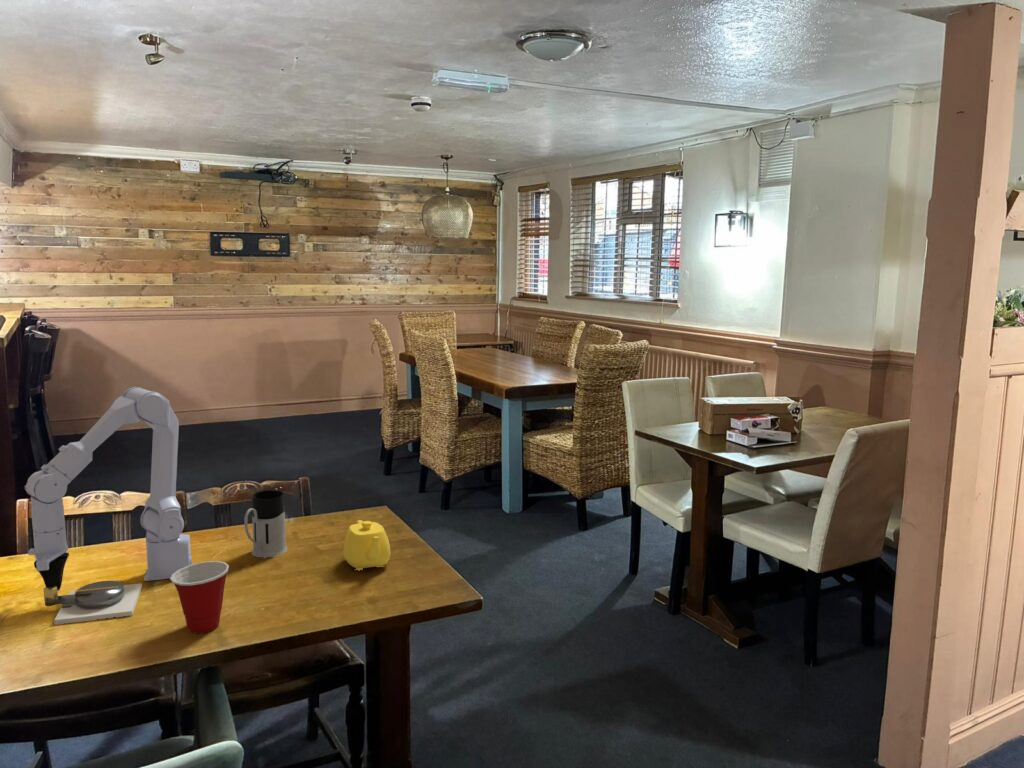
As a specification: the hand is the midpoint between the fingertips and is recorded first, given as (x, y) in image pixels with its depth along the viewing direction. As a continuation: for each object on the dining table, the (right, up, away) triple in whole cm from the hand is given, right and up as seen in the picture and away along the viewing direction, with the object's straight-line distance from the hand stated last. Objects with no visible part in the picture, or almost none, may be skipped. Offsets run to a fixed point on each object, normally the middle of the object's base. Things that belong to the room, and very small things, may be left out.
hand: (54, 589), depth 156 cm
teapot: (+61, -1, +25) cm, 66 cm away
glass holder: (+34, 0, +29) cm, 45 cm away
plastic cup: (+34, -6, -7) cm, 36 cm away
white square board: (+9, -4, +1) cm, 10 cm away
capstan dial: (+7, -2, 0) cm, 7 cm away
